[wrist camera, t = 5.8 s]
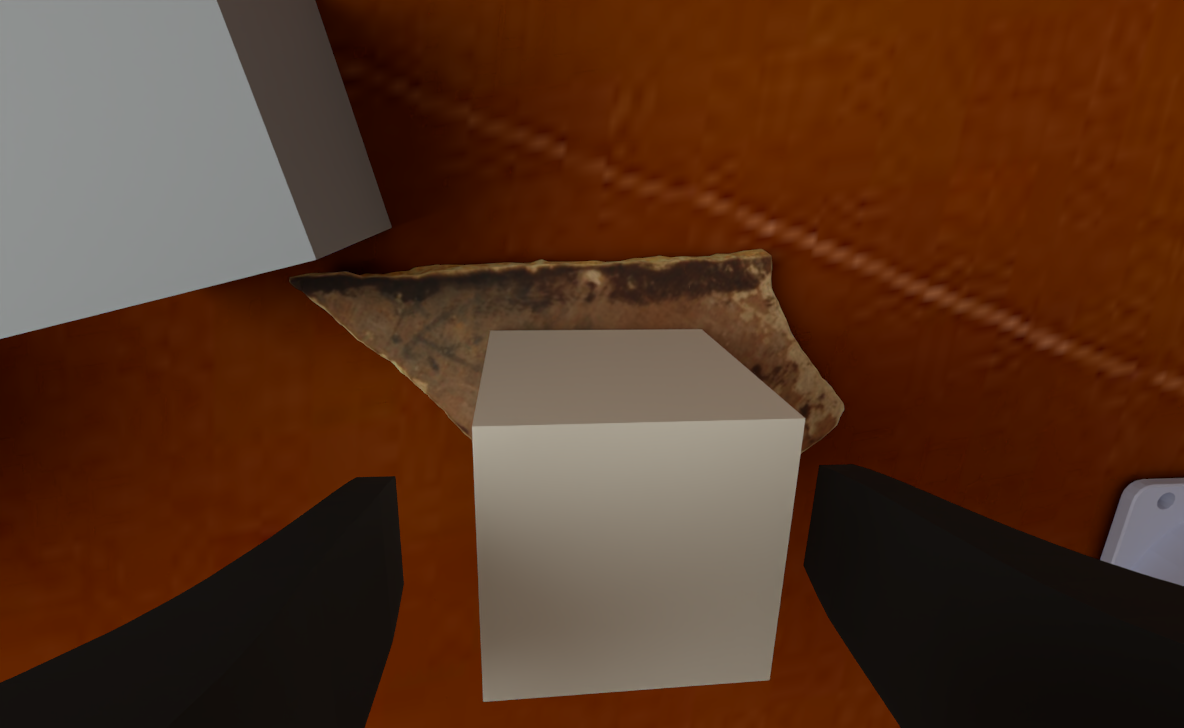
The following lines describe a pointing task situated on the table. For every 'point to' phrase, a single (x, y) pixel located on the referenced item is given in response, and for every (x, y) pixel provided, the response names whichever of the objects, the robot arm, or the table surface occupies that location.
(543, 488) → the cream block
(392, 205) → the table surface
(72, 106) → the slate block
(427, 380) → the shard
